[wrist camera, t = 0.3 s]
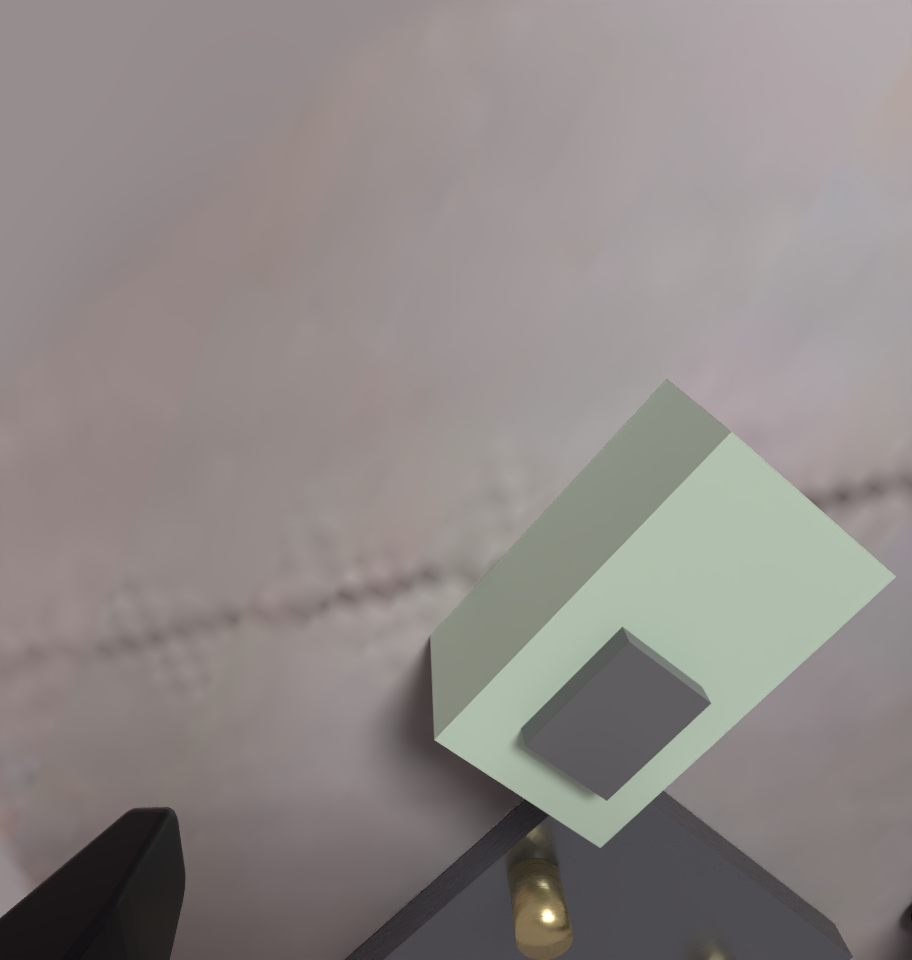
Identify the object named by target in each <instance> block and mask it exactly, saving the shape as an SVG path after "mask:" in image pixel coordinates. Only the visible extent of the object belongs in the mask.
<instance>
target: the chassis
mask: <svg viewBox="0 0 912 960" xmlns="http://www.w3.org/2000/svg"><path fill="white" fill-rule="evenodd" d="M852 957H853V956H852V955H851V953H850V951H849V949H848V947H847V946H846V944H845V942H844V940H843V939H842V937H841V935H840V933H839V931H838V930H837V928H836V926H835V924H834V923H833V922H832V921H830V920H829V919H828V918H826V917H825V916H824V915H822V914H821V913H820V912H819V911H817V910H816V909H815V908H813V907H812V906H811V905H810V904H808V903H807V902H806V901H804V900H803V899H802V898H801V897H799V896H798V895H797V894H795V893H794V892H793V891H792V890H790V889H789V888H788V887H786V886H785V885H784V884H783V883H781V882H780V881H779V880H777V879H776V878H775V877H773V876H772V875H771V874H770V873H768V872H767V871H766V870H764V869H763V868H762V867H761V866H759V865H758V864H757V863H755V862H754V861H753V860H752V859H750V858H749V857H748V856H746V855H745V854H744V853H743V852H741V851H740V850H739V849H737V848H736V847H735V846H734V845H732V844H731V843H730V842H728V841H727V840H726V839H724V838H723V837H722V836H721V835H719V834H718V833H717V832H715V831H714V830H713V829H712V828H710V827H709V826H708V825H706V824H705V823H704V822H703V821H701V820H700V819H699V818H697V817H696V816H695V815H694V814H692V813H691V812H690V811H688V810H687V809H686V808H685V807H683V806H682V805H681V804H679V803H678V802H677V801H676V800H674V799H673V798H672V797H670V796H669V795H668V794H666V793H665V792H664V791H662V792H661V793H660V794H659V795H658V796H657V797H655V798H654V799H653V800H652V801H651V802H650V803H649V804H648V805H647V806H646V807H645V808H644V809H642V810H641V811H640V812H639V813H638V814H637V815H636V816H635V817H634V818H633V819H632V820H630V821H629V822H628V823H627V824H626V825H625V826H624V827H623V828H622V829H621V830H620V831H618V832H617V833H616V834H615V835H614V836H613V837H612V838H611V839H610V840H609V841H608V842H606V843H605V844H604V845H603V846H602V847H601V848H599V847H598V846H596V845H595V844H593V843H592V842H590V841H589V840H587V839H586V838H584V837H583V836H581V835H579V834H578V833H576V832H575V831H573V830H572V829H570V828H569V827H567V826H566V825H564V824H563V823H561V822H559V821H558V820H556V819H555V818H553V817H552V816H550V815H549V814H547V813H546V812H544V811H543V810H541V809H540V808H538V807H536V806H535V805H533V804H532V803H530V802H529V801H527V800H525V801H524V802H523V803H522V804H521V805H520V806H519V807H517V808H516V809H515V810H514V811H513V812H512V813H511V814H509V815H508V816H507V817H506V818H505V819H504V820H503V821H502V822H500V823H499V824H498V825H497V826H496V827H495V828H494V829H493V830H491V831H490V832H489V833H488V834H487V835H486V836H485V837H484V838H482V839H481V840H480V841H479V842H478V843H477V844H476V845H474V846H473V847H472V848H471V849H470V850H469V851H468V852H467V853H465V854H464V855H463V856H462V857H461V858H460V859H459V860H458V861H456V862H455V863H454V864H453V865H452V866H451V867H450V868H449V869H447V870H446V871H445V872H444V873H443V874H442V875H441V876H439V877H438V878H437V879H436V880H435V881H434V882H433V883H432V884H430V885H429V886H428V887H427V888H426V889H425V890H424V891H423V892H421V893H420V894H419V895H418V896H417V897H416V898H415V899H413V900H412V901H411V902H410V903H409V904H408V905H407V906H406V907H404V908H403V909H402V910H401V911H400V912H399V913H398V914H397V915H395V916H394V917H393V918H392V919H391V920H390V921H389V922H388V923H386V924H385V925H384V926H383V927H382V928H381V929H380V930H378V931H377V932H376V933H375V934H374V935H373V936H372V937H371V938H369V939H368V940H367V941H366V942H365V943H364V944H363V945H362V946H360V947H359V948H358V949H357V950H356V951H355V952H354V953H352V954H351V955H350V956H349V957H348V958H347V959H346V960H849V959H851V958H852Z"/></svg>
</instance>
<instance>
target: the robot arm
mask: <svg viewBox="0 0 912 960" xmlns="http://www.w3.org/2000/svg"><path fill="white" fill-rule="evenodd" d="M184 891H185V867H184V860H183V853H182V846H181V839H180V831H179V824H178V819H177V816H176V814H175V811H174V810H172V809H171V808H168V807H152V808H135V809H132V810H130V811H128V812H126V813H125V814H124V815H123V816H121V817H120V818H119V819H118V820H117V821H115V822H114V823H113V824H112V825H111V826H109V827H108V828H107V829H106V830H105V831H103V832H102V833H101V834H100V835H99V836H98V837H96V838H95V839H94V840H93V841H92V842H90V843H89V844H88V845H87V846H86V847H84V848H83V849H82V850H81V851H80V852H78V853H77V854H76V855H75V856H74V857H72V858H71V859H70V860H69V861H68V862H67V863H65V864H64V865H63V866H62V867H61V868H59V869H58V870H57V871H56V872H55V873H53V874H52V875H51V876H50V877H49V878H47V879H46V880H45V881H44V882H43V883H41V884H40V885H39V886H38V887H37V888H36V889H34V890H33V891H32V892H31V893H30V894H28V895H27V896H26V897H25V898H24V899H22V900H21V901H20V902H19V903H18V904H17V905H15V906H14V907H13V908H12V909H10V910H9V911H8V912H7V913H6V914H5V915H3V916H2V917H1V918H0V960H170V955H171V951H172V946H173V942H174V937H175V933H176V929H177V924H178V920H179V915H180V911H181V907H182V902H183V897H184ZM911 920H912V914H911Z"/></svg>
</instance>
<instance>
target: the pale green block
mask: <svg viewBox="0 0 912 960" xmlns="http://www.w3.org/2000/svg"><path fill="white" fill-rule="evenodd" d="M895 577H896V576H895V575H894V574H892V573H891V572H890V571H889V570H888V569H887V568H886V567H884V566H883V565H882V564H881V563H880V562H879V561H878V560H877V559H875V558H874V557H873V556H872V555H871V554H870V553H869V552H867V551H866V550H865V549H864V548H863V547H862V546H861V545H860V544H858V543H857V542H856V541H855V540H854V539H853V538H852V537H851V536H849V535H848V534H847V533H846V532H845V531H844V530H843V529H841V528H840V527H839V526H838V525H837V524H836V523H835V522H834V521H832V520H831V519H830V518H829V517H828V516H827V515H826V514H824V513H823V512H822V511H821V510H820V509H819V508H818V507H817V506H815V505H814V504H813V503H812V502H811V501H810V500H809V499H807V498H806V497H805V496H804V495H803V494H802V493H801V492H800V491H798V490H797V489H796V488H795V487H794V486H793V485H792V484H790V483H789V482H788V481H787V480H786V479H785V478H784V477H783V476H781V475H780V474H779V473H778V472H777V471H776V470H775V469H773V468H772V467H771V466H770V465H769V464H768V463H767V462H766V461H764V460H763V459H762V458H761V457H760V456H759V455H758V454H757V453H755V452H754V451H753V450H752V449H751V448H750V447H749V446H747V445H746V444H745V443H744V442H743V441H742V440H741V439H740V438H738V437H737V436H736V435H735V434H734V433H733V432H732V431H730V430H729V429H728V428H727V427H725V426H724V425H723V424H722V423H721V422H719V421H718V420H717V419H716V418H714V417H713V416H712V415H711V414H709V413H708V412H707V411H706V410H705V409H703V408H702V407H701V406H700V405H698V404H697V403H696V402H695V401H694V400H692V399H691V398H690V397H689V396H687V395H686V394H685V393H684V392H683V391H681V390H680V389H679V388H678V387H676V386H675V385H674V384H673V383H671V382H670V381H669V380H668V379H666V380H665V381H664V382H663V383H662V385H661V386H660V387H659V388H658V389H657V390H656V391H655V392H654V393H653V394H652V395H651V396H650V398H649V399H648V400H647V401H646V402H645V403H644V404H643V405H642V406H641V407H640V408H639V409H638V411H637V412H636V413H635V414H634V415H633V416H632V417H631V418H630V419H629V420H628V421H627V422H626V424H625V425H624V426H623V427H622V428H621V429H620V430H619V431H618V432H617V433H616V434H615V436H614V437H613V438H612V439H611V440H610V441H609V442H608V443H607V444H606V445H605V446H604V447H603V449H602V450H601V451H600V452H599V453H598V454H597V455H596V456H595V457H594V458H593V459H592V460H591V462H590V463H589V464H588V465H587V466H586V467H585V468H584V469H583V470H582V471H581V472H580V474H579V475H578V476H577V477H576V478H575V479H574V480H573V481H572V482H571V483H570V484H569V485H568V487H567V488H566V489H565V490H564V491H563V492H562V493H561V494H560V495H559V496H558V497H557V498H556V500H555V501H554V502H553V503H552V504H551V505H550V506H549V507H548V508H547V509H546V510H545V511H544V513H543V514H542V515H541V516H540V517H539V518H538V519H537V520H536V521H535V522H534V523H533V525H532V526H531V527H530V528H529V529H528V530H527V531H526V532H525V533H524V534H523V535H522V536H521V538H520V539H519V540H518V541H517V542H516V543H515V544H514V545H513V546H512V547H511V548H510V549H509V551H508V552H507V553H506V554H505V555H504V556H503V557H502V558H501V559H500V560H499V561H498V562H497V564H496V565H495V566H494V567H493V568H492V569H491V570H490V571H489V572H488V573H487V574H486V576H485V577H484V578H483V579H482V580H481V581H480V582H479V583H478V584H477V585H476V586H475V587H474V589H473V590H472V591H471V592H470V593H469V594H468V595H467V596H466V597H465V598H464V599H463V600H462V602H461V603H460V604H459V605H458V606H457V607H456V608H455V609H454V610H453V611H452V612H451V614H450V615H449V616H448V617H447V618H446V619H445V620H444V621H443V622H442V623H441V624H440V625H439V627H438V628H437V629H436V630H435V631H434V632H433V633H432V634H431V635H430V644H431V669H432V694H433V720H434V740H435V741H437V742H438V743H440V744H441V745H443V746H444V747H446V748H447V749H449V750H450V751H452V752H454V753H455V754H457V755H458V756H460V757H461V758H463V759H464V760H466V761H467V762H469V763H470V764H472V765H474V766H475V767H477V768H478V769H480V770H481V771H483V772H484V773H486V774H487V775H489V776H490V777H492V778H493V779H495V780H497V781H498V782H500V783H501V784H503V785H504V786H506V787H507V788H509V789H510V790H512V791H513V792H515V793H516V794H518V795H520V796H521V797H523V798H524V799H526V800H527V801H529V802H530V803H532V804H533V805H535V806H536V807H538V808H540V809H541V810H543V811H544V812H546V813H547V814H549V815H550V816H552V817H553V818H555V819H556V820H558V821H559V822H561V823H563V824H564V825H566V826H567V827H569V828H570V829H572V830H573V831H575V832H576V833H578V834H579V835H581V836H583V837H584V838H586V839H587V840H589V841H590V842H592V843H593V844H595V845H596V846H598V847H599V848H601V847H602V846H603V845H604V844H605V843H606V842H608V841H609V840H610V839H611V838H612V837H613V836H614V835H615V834H616V833H617V832H618V831H620V830H621V829H622V828H623V827H624V826H625V825H626V824H627V823H628V822H629V821H630V820H632V819H633V818H634V817H635V816H636V815H637V814H638V813H639V812H640V811H641V810H642V809H644V808H645V807H646V806H647V805H648V804H649V803H650V802H651V801H652V800H653V799H654V798H655V797H657V796H658V795H659V794H660V793H661V792H662V791H663V790H664V789H665V788H666V787H667V786H669V785H670V784H671V783H672V782H673V781H674V780H675V779H676V778H677V777H678V776H679V775H681V774H682V773H683V772H684V771H685V770H686V769H687V768H688V767H689V766H690V765H691V764H693V763H694V762H695V761H696V760H697V759H698V758H699V757H700V756H701V755H702V754H703V753H705V752H706V751H707V750H708V749H709V748H710V747H711V746H712V745H713V744H714V743H715V742H717V741H718V740H719V739H720V738H721V737H722V736H723V735H724V734H725V733H726V732H727V731H729V730H730V729H731V728H732V727H733V726H734V725H735V724H736V723H737V722H738V721H739V720H740V719H742V718H743V717H744V716H745V715H746V714H747V713H748V712H749V711H750V710H751V709H752V708H754V707H755V706H756V705H757V704H758V703H759V702H760V701H761V700H762V699H763V698H764V697H766V696H767V695H768V694H769V693H770V692H771V691H772V690H773V689H774V688H775V687H776V686H778V685H779V684H780V683H781V682H782V681H783V680H784V679H785V678H786V677H787V676H788V675H790V674H791V673H792V672H793V671H794V670H795V669H796V668H797V667H798V666H799V665H800V664H802V663H803V662H804V661H805V660H806V659H807V658H808V657H809V656H810V655H811V654H812V653H814V652H815V651H816V650H817V649H818V648H819V647H820V646H821V645H822V644H823V643H824V642H825V641H827V640H828V639H829V638H830V637H831V636H832V635H833V634H834V633H835V632H836V631H837V630H839V629H840V628H841V627H842V626H843V625H844V624H845V623H846V622H847V621H848V620H849V619H851V618H852V617H853V616H854V615H855V614H856V613H857V612H858V611H859V610H860V609H861V608H863V607H864V606H865V605H866V604H867V603H868V602H869V601H870V600H871V599H872V598H873V597H875V596H876V595H877V594H878V593H879V592H880V591H881V590H882V589H883V588H884V587H885V586H887V585H888V584H889V583H890V582H891V581H892V580H893V579H894V578H895Z"/></svg>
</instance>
